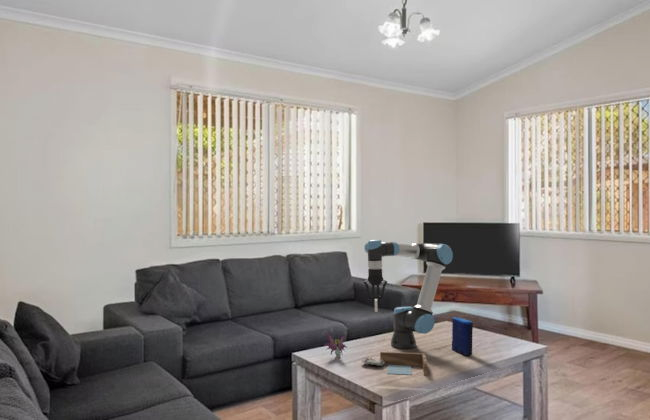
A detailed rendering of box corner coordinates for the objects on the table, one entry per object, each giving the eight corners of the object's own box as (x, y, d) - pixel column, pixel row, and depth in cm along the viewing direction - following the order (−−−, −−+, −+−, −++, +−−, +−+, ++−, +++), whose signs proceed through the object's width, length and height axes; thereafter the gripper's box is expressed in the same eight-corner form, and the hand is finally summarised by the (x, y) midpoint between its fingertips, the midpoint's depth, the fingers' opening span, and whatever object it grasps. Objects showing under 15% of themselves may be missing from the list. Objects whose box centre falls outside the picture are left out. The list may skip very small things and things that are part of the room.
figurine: (350, 357, 271) (350, 330, 271) (347, 361, 263) (347, 333, 263) (327, 355, 275) (327, 328, 275) (323, 359, 267) (323, 332, 267)
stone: (359, 365, 254) (359, 359, 255) (364, 361, 263) (364, 355, 263) (380, 368, 249) (380, 361, 250) (386, 364, 258) (386, 357, 258)
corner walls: (380, 362, 261) (380, 351, 261) (425, 364, 257) (425, 353, 257) (379, 373, 243) (379, 361, 243) (427, 375, 240) (427, 363, 240)
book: (450, 350, 285) (450, 316, 285) (457, 349, 287) (457, 315, 287) (466, 357, 271) (465, 321, 272) (473, 356, 273) (473, 320, 274)
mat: (387, 365, 256) (387, 364, 256) (410, 366, 255) (410, 365, 255) (387, 373, 242) (387, 373, 242) (411, 375, 241) (411, 374, 241)
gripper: (363, 269, 261) (364, 313, 261) (387, 269, 260) (388, 312, 260) (363, 267, 269) (364, 310, 269) (387, 267, 267) (388, 310, 267)
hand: (376, 311), depth 264 cm, fingers closed
